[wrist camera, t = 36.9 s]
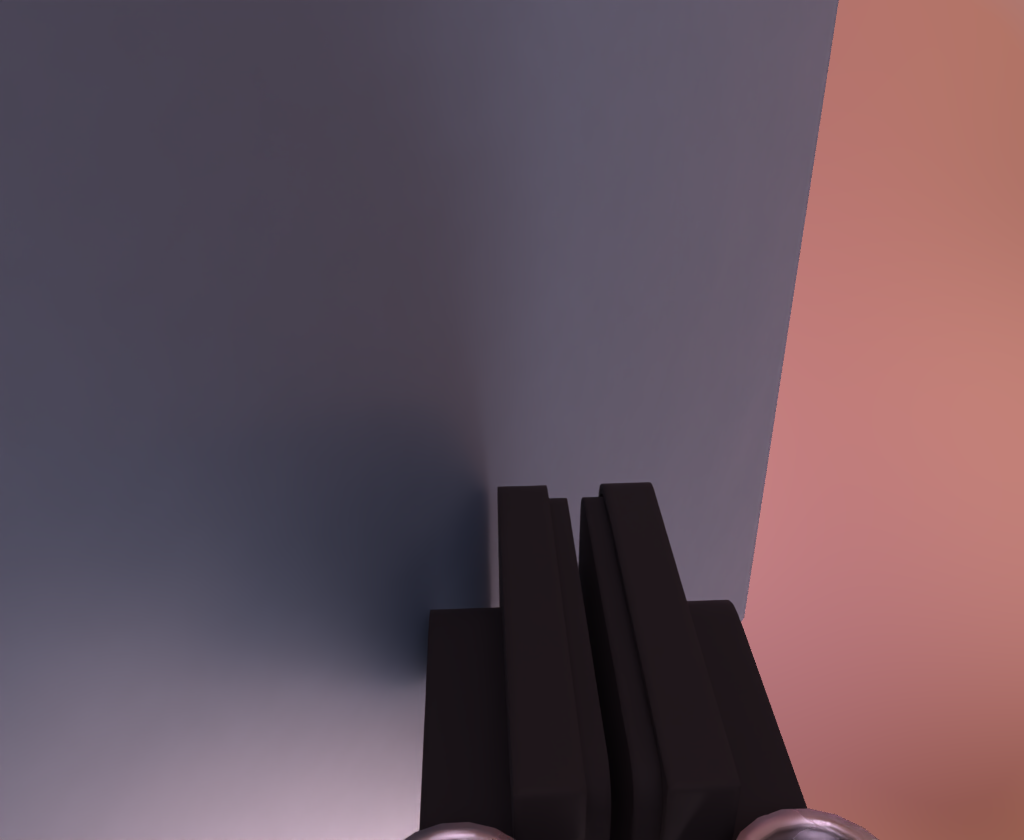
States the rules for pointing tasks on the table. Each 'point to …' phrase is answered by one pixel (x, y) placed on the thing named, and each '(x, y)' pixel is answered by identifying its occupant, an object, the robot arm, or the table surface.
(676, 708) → the robot arm
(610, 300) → the lid
